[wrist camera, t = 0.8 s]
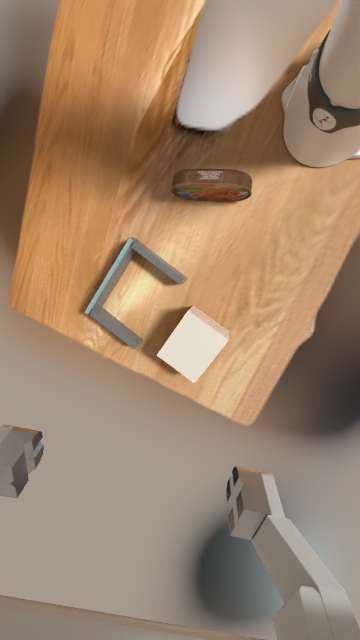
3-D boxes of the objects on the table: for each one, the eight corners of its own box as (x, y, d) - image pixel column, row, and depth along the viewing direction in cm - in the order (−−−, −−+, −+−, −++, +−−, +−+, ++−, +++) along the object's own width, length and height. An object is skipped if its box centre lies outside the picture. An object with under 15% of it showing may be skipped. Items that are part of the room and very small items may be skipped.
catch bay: (136, 239, 55) (128, 236, 51) (187, 278, 54) (183, 278, 50) (94, 308, 61) (83, 311, 56) (139, 344, 60) (132, 350, 56)
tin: (176, 199, 52) (166, 186, 44) (177, 183, 51) (167, 167, 43) (249, 202, 49) (252, 189, 41) (251, 185, 48) (255, 168, 40)
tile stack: (193, 305, 56) (187, 310, 49) (229, 331, 55) (229, 340, 48) (165, 345, 59) (156, 355, 52) (199, 370, 58) (194, 383, 52)
